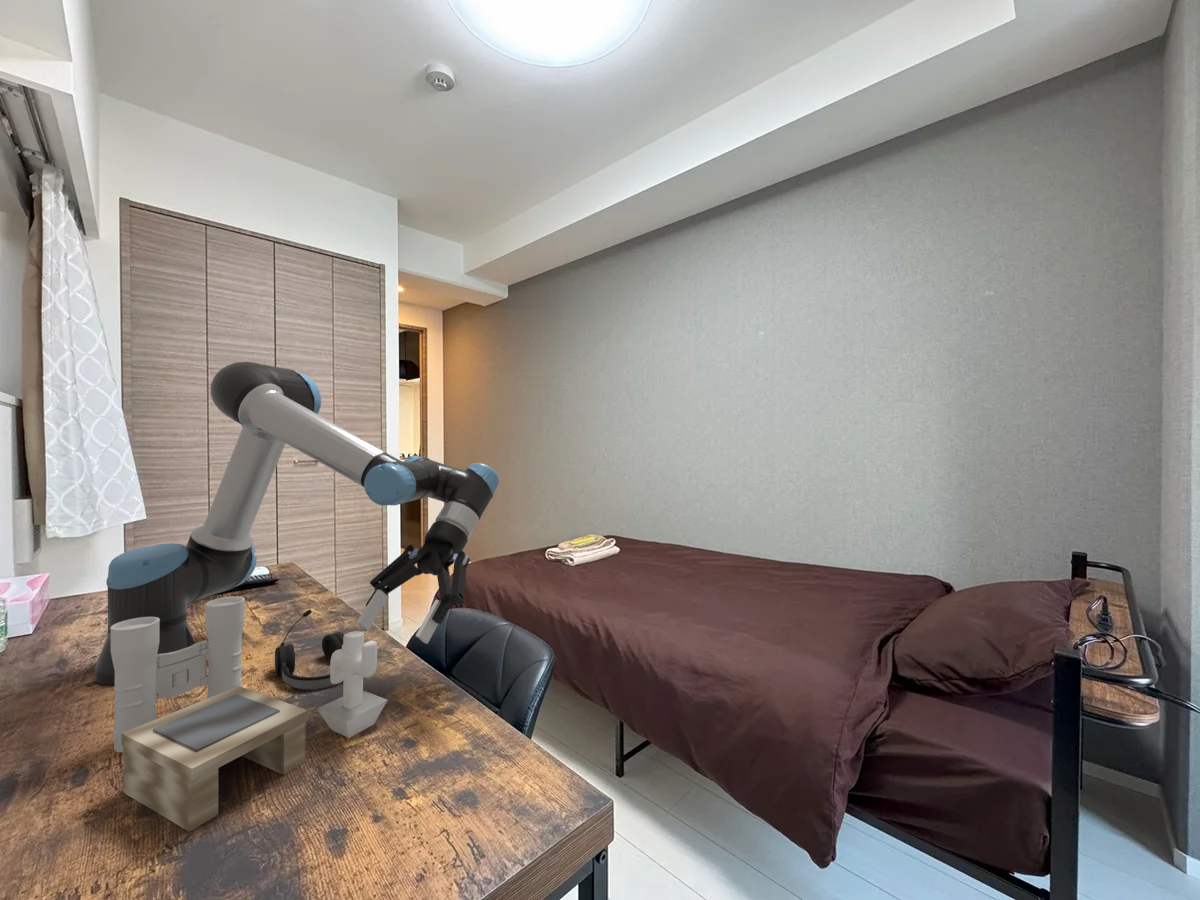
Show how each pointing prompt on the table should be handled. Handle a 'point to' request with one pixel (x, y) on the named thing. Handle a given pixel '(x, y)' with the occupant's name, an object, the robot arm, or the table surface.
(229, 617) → the binoculars
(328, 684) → the headset
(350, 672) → the figurine
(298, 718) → the bridge shelf
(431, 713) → the table surface
